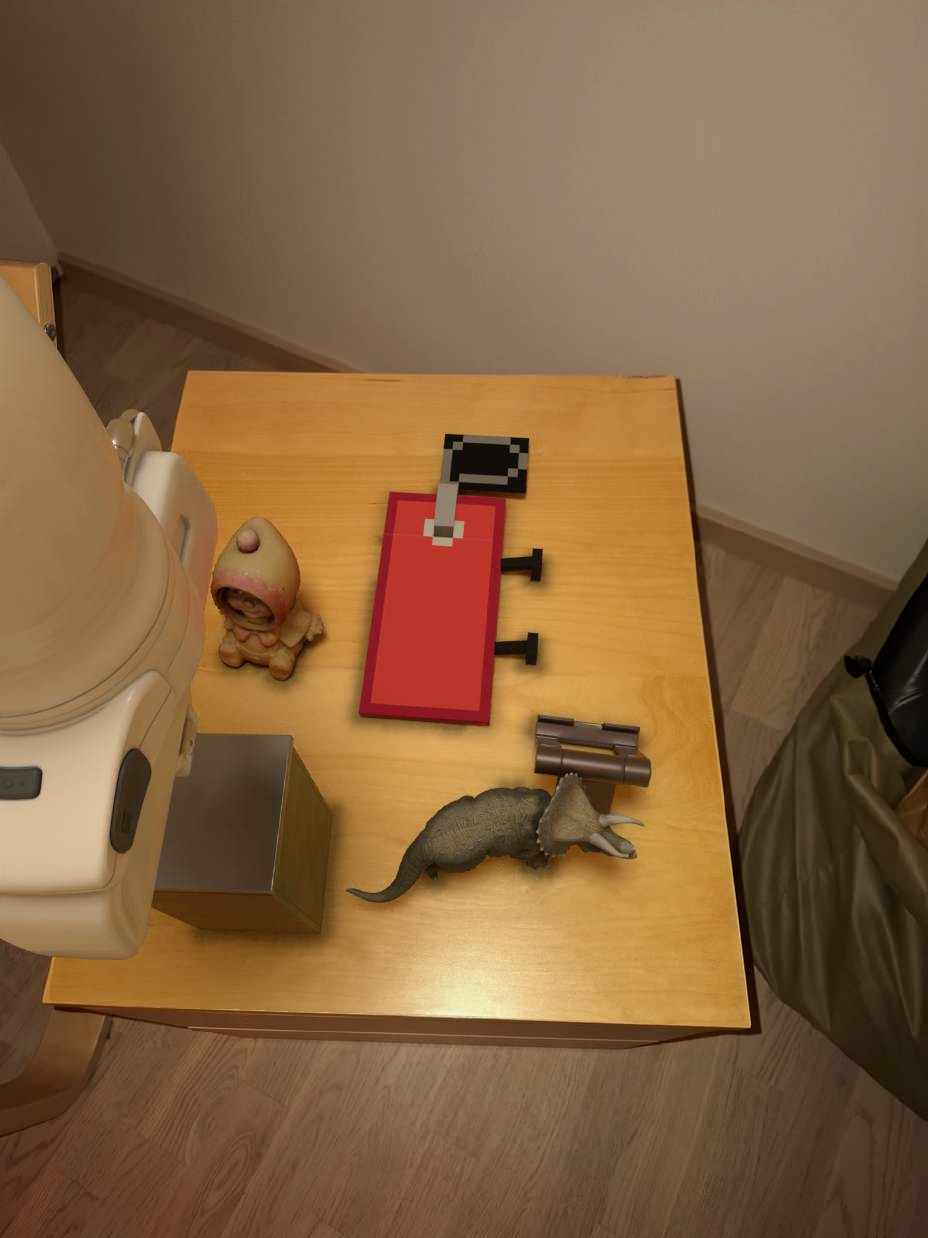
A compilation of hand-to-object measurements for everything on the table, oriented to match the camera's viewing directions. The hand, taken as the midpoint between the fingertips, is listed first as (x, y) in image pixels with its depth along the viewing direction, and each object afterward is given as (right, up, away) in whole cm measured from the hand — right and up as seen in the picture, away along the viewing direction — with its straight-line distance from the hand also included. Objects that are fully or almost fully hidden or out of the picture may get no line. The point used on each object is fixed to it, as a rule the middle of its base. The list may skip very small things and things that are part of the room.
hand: (178, 747), depth 43 cm
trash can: (-2, -14, +29) cm, 33 cm away
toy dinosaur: (+15, -12, +30) cm, 36 cm away
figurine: (-4, +5, +39) cm, 39 cm away
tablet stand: (+24, -7, +33) cm, 41 cm away
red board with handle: (+13, +10, +41) cm, 45 cm away
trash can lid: (-2, -6, +11) cm, 13 cm away
